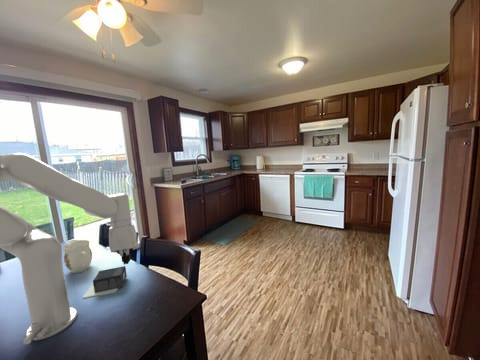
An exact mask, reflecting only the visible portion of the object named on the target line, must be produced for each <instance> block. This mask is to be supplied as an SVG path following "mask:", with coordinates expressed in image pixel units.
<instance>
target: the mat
mask: <svg viewBox="0 0 480 360" xmlns="http://www.w3.org/2000/svg"><path fill="white" fill-rule="evenodd" d="M118 289H119V288H115V289H110V290H106V291H101V292H96V293H95V292H94V286H93V283H92V284H91V286H89V289H87V291H86V292H85V293H84V294H83V296H82V299H88V298H93V297H99V296H104V295H108V294H114V293H117V291H118Z"/></svg>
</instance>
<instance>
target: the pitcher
mask: <svg viewBox="0 0 480 360" xmlns="http://www.w3.org/2000/svg"><path fill="white" fill-rule="evenodd" d="M62 250H63V251H64V257H63V260H64V264H65V266H66V268H67V270H68V271H70V272H71V273H72V274H77V273H81V272H84V271H86V270H87V269H89V267H90V265H91V263H92V258H93V252H92V249H91V248H90V240H86V239H82V240H79V239H78V240H76V239H71V240H69V241H68V242H67V243H66V244H65V245H63V247H62Z"/></svg>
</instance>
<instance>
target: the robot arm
mask: <svg viewBox="0 0 480 360" xmlns="http://www.w3.org/2000/svg"><path fill="white" fill-rule="evenodd" d="M11 181H13V182H15V183H17V184H19V185H22V186H24V187H26V188H28V189H31V190H33V191H35V192H37V193H39V194H41V195H44V196H45V197H49V198H51V199H53V200H56V201H58V202H62V203H65V204H69V205H72V206H75V207H77V208H79V209H80V208H81V209H82V210H84V212H85V213H86V215H89V216H93V217H97V218H99V219H100V218H102V219H108V218H110V220H109V221H107V226H108V225H110V227H109V229H108V230H109V231H108V246H109V250H110V253H116V254H118V255H119V256H120V257H121V262H122V264H123V265H128V264H129V263H130V261H131V252H133V251H134V250H137V249H138V248H139V242H138V241H139V240H138V235H137V231H136V227H135V225H134V223H133V222H132V216H131V208H130V197H129V195H128V194H127V193H115V194H111V195H106V194H105V193H103V192H101V191H99V190H97V189H95V188H94V187H91V186H89V185H86V184H85V183H82V182H80V181H78V180H76V179H74V178H73V177H70V176H68V175H66V174H64V173H63V172H61V171H59V170H58V169H55V168H54V167H53V166H50V165H48V164H47V163H45V162H43V161H41V160H39V159H37V158H36V157H34V156H31V155H30V154H28V153H23V152H15V153H9V154H0V183H2V182H3V183H5V182H11ZM0 249H1V250H3V251H5V252H7V253H9V254H11V255H13V256H15V257H16V258H17V260H18V261H19V262H20V265H21V272H22V273H21V275H22V283H23V287H24V292H25V297H26V301H27V307H28V311H29V317H30V322H31V324H30V326H29V327H28V328H27V330H26V332H25V333H26V337H25V338H24V339H23V340H22V342H23V344H24V345H30V344H31V342H33V341H40V340H41V341H42V340H44V339H47V338H50V337H53V336H55V335H57V334H58V333H60V332H62V331H63V330H66V328H68V327H69V326H70V325H72V324H73V322H74V321H75V320H76V319H77V315H78V312H77V309H75V308H74V307H71V306H70V301H69V294H68V288H67V282H66V277H65V271H64V265H63V247H62V244H61V242H60V240H59V239H58V238H57V237H55V236H54V235H52V234H49V233H47V232H45V231H43V230H41V229H39V228H37V227H36V226H35V225H34V224H32V223H30V222H28V221H26V220H25V219H24V218H23V217H22V216H21V215H20V214H17V213H15V212H13V211H11V210H9V209H7V208H6V207H4V206H2V205H1V204H0Z"/></svg>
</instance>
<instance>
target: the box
mask: <svg viewBox="0 0 480 360" xmlns="http://www.w3.org/2000/svg"><path fill="white" fill-rule="evenodd" d="M127 277H128V275H127V269H126V265H124V266H119V267H113V268H108V269H101V270H99V271H98V273H97V274H96V275H95V277H94V278H93V280H92V284H93V286H94V292H95V293H96V292H101V291H106V290H110V289H115V288H118V289H119V288H123V286H124V284H125V282H126V278H127Z"/></svg>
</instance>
